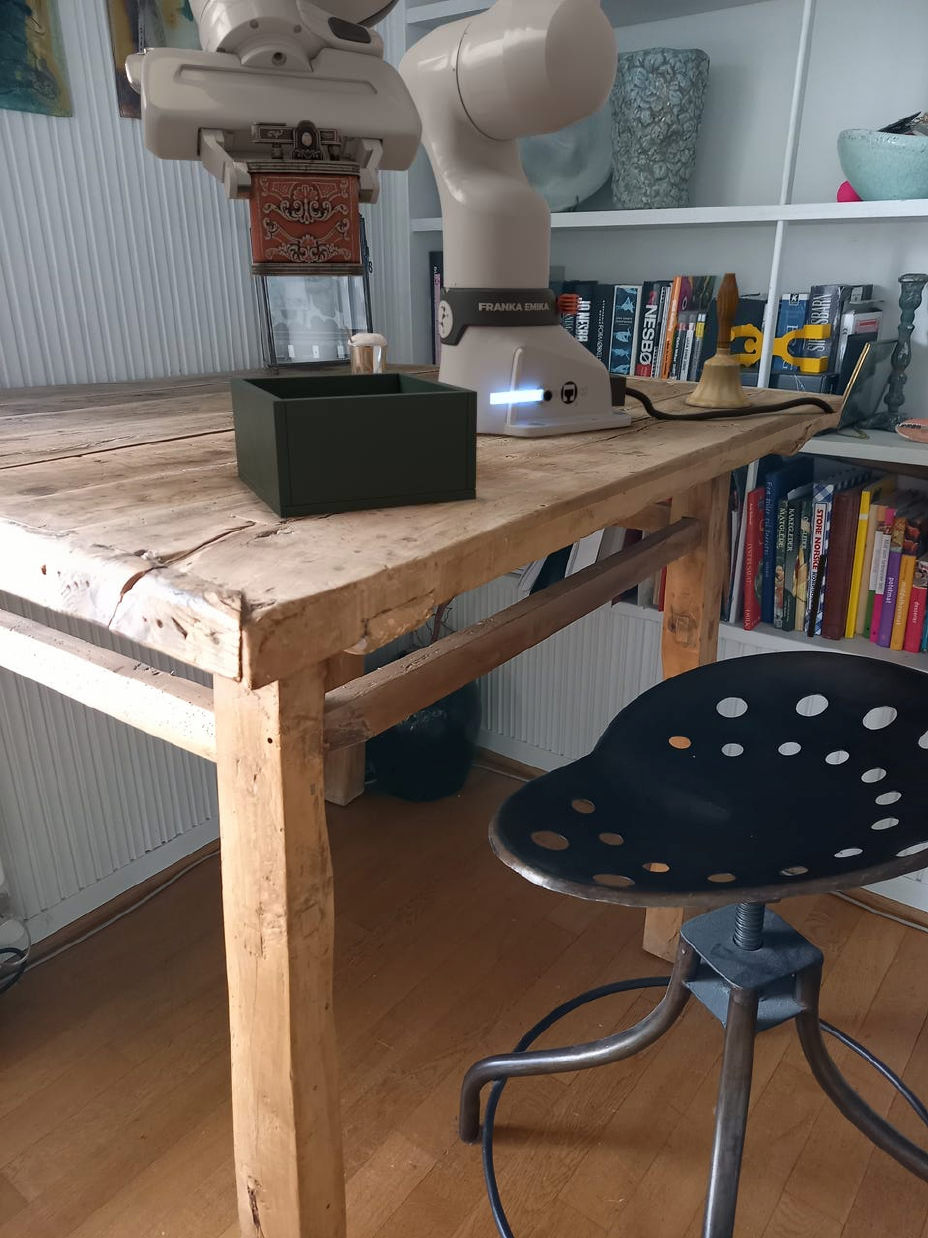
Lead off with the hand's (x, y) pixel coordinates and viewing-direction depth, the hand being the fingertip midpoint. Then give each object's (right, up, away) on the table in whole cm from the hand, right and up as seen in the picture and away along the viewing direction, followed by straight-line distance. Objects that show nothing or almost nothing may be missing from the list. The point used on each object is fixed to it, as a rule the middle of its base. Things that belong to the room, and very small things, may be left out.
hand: (306, 194), depth 63 cm
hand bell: (+44, -2, +54) cm, 70 cm away
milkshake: (-1, -5, +44) cm, 45 cm away
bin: (+2, -20, +7) cm, 21 cm away
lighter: (0, -5, +3) cm, 6 cm away
